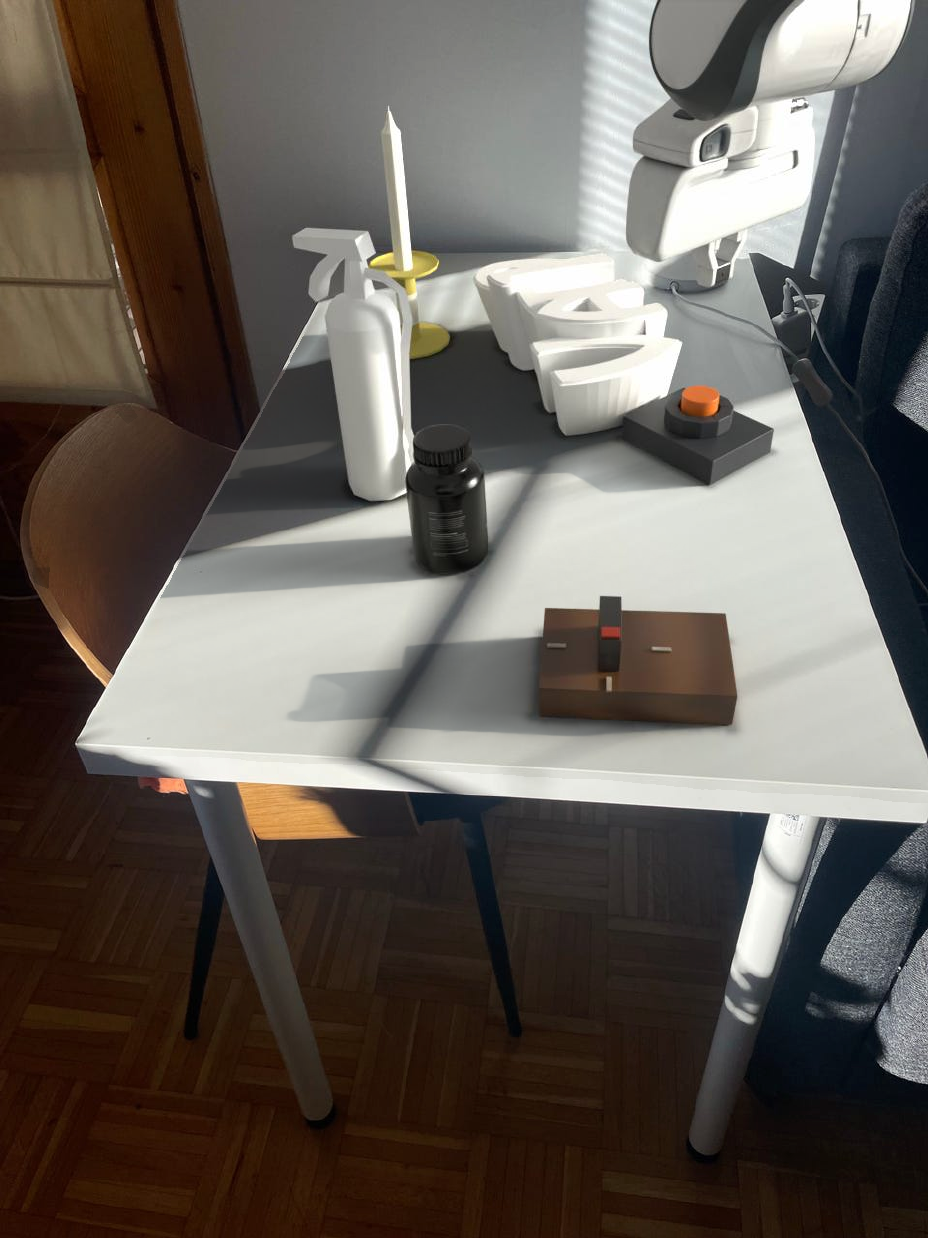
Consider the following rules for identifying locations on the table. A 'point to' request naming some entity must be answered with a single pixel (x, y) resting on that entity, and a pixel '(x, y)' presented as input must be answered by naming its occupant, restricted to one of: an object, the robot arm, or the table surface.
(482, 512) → the supplement bottle
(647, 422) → the push button base
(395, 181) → the candle
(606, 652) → the black rectangular block
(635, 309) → the white wavy slab sculpture
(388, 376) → the fire extinguisher
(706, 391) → the orange push button
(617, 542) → the table surface
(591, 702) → the dial panel
